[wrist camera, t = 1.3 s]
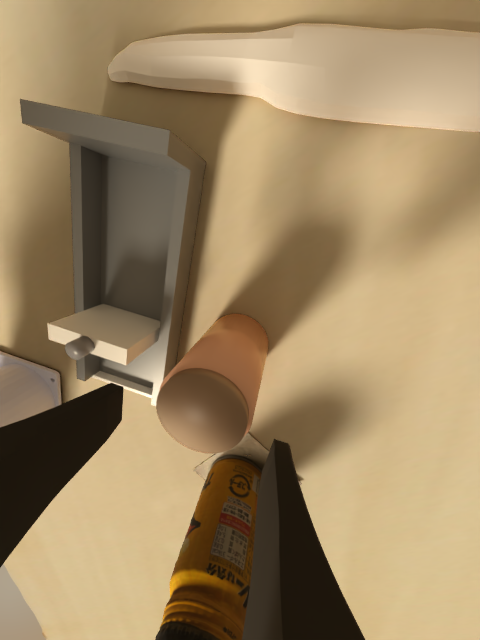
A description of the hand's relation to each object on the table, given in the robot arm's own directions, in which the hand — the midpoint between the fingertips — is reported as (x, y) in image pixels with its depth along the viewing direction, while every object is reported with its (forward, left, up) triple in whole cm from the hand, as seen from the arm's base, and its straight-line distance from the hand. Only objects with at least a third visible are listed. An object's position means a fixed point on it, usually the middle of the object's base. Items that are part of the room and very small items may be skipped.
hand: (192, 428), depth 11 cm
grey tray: (+2, +9, -9) cm, 13 cm away
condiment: (-14, -4, -10) cm, 18 cm away
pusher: (-1, +9, -9) cm, 13 cm away
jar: (0, 0, -9) cm, 9 cm away
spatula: (+17, -2, -10) cm, 20 cm away
